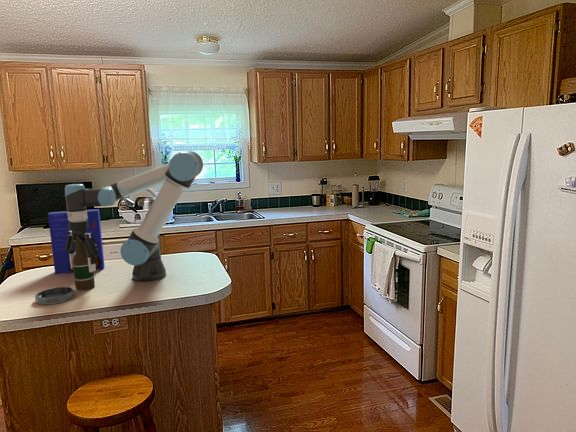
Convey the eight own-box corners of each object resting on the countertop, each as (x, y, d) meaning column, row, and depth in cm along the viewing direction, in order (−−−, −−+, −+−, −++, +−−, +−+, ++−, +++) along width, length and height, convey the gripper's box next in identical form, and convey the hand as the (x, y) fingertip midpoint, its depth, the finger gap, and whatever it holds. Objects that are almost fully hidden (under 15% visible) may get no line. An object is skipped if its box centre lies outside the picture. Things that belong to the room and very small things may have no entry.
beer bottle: (93, 289, 183) (87, 235, 179) (73, 291, 181) (67, 236, 177) (96, 283, 191) (90, 231, 186) (77, 285, 188) (71, 233, 184)
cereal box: (104, 266, 219) (98, 208, 213) (103, 269, 213) (97, 210, 208) (57, 271, 211) (50, 211, 206) (55, 274, 206) (47, 213, 201)
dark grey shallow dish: (80, 293, 178) (79, 287, 178) (58, 305, 165) (57, 298, 165) (51, 292, 180) (51, 286, 180) (28, 304, 168) (27, 297, 167)
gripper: (52, 220, 183) (58, 268, 187) (88, 224, 172) (93, 275, 175) (68, 217, 190) (73, 263, 193) (104, 221, 178) (109, 270, 182)
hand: (83, 269), depth 184 cm, fingers open, 12 cm apart
